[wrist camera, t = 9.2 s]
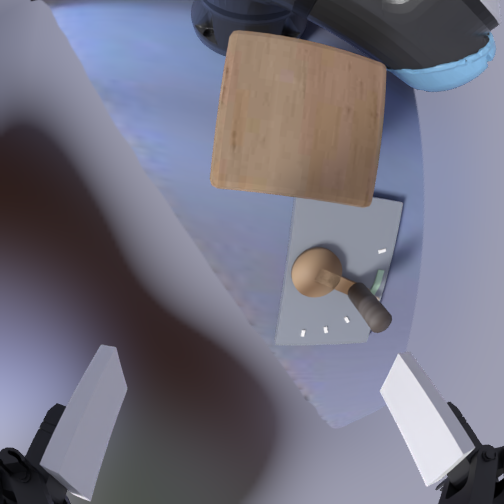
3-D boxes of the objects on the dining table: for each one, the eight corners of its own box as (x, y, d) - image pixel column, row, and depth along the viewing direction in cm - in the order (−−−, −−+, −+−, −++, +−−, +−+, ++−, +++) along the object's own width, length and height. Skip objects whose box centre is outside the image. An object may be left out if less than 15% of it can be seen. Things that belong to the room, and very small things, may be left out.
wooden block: (311, 107, 31) (389, 63, 12) (301, 180, 35) (373, 210, 16) (234, 95, 30) (230, 26, 12) (224, 170, 34) (208, 188, 15)
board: (295, 186, 35) (298, 187, 33) (397, 200, 36) (403, 202, 34) (274, 339, 43) (275, 345, 41) (363, 337, 44) (366, 343, 42)
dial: (282, 283, 37) (294, 321, 29) (306, 238, 35) (328, 266, 27) (364, 316, 40) (388, 351, 31) (387, 279, 38) (419, 309, 29)
